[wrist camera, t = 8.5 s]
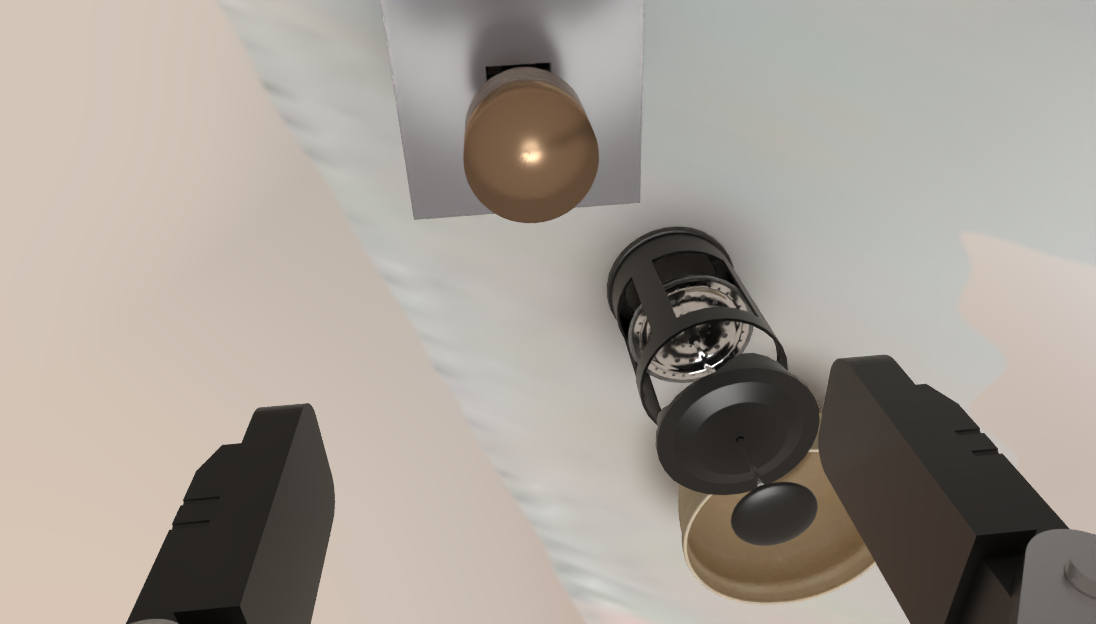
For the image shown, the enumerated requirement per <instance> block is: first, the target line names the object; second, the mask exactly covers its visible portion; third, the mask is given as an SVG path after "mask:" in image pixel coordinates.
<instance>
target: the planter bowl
mask: <svg viewBox="0 0 1096 624" xmlns="http://www.w3.org/2000/svg"><path fill="white" fill-rule="evenodd" d="M821 418H822V413H821V412H819V420H820V422H819V428H818V433H817V436H816V438H815V441H814V443H813V445H812V447H811V449H810V450H809V451H808V453H807V454H806V456H805V457H804V458H803V459H802V461H801V462H800V463H799V464H798V465H797V466H796V467H795V468H794V469H792V470H791V471H790V472H788V473H787V474H786V475H784V476H783V477H782V478H780V479H778V480H776V481H774V482H793V483H797V484H800V485H803V486H805V487H807V488H808V489H809V490H811V491H812V492H813V494H814V495H815V497H816V499H817V503H818V510H817V515H816V517H815V519H814V521H813V523H812V524H811V525H810V527H809V528H808V529H807V530H806V531H804V532H803V533H802V534H800V535H799V536H798V537H796V538H794V539H792V540H790V541H787V542H785V543H781V544H777V545H771V546H757V545H752V544H749V543H747V542H744V541H743V540H741V539H740V538H739V537H738V536H737V535H736V534H735V533H734V531H733V529H732V527H731V515H732V513H733V510H734V508H735V506H736V505H737V503H738V502H739V501H740V500H741V499H742V498H743V497H744V496H745V495H746V494H748V493H749V492H751V491H749V492H745V493H741V494H732V495H709V494H705V493H700V492H696V491H693V490H691V489H688V488H686V487H683V486H682V485H680V488H679V500H678V502H679V520H680V526H681V531H682V547H683V552H684V556H685V560H686V563H687V565H688V567H689V569H690V571H691V572H692V574H693V575H694V577H695V578H696V579H697V580H698V581H699V582H700V583H701V584H702V585H703V586H704V587H706V588H707V589H708V590H710V591H712V592H713V593H715V594H717V595H719V596H722V597H724V598H727V599H730V600H734V601H738V602H742V603H748V604H761V605H771V604H785V603H793V602H798V601H804V600H808V599H812V598H815V597H819V596H822V595H825V594H827V593H830V592H832V591H835V590H837V589H839V588H841V587H843V586H845V585H847V584H848V583H850V582H852V581H853V580H855V579H857V578H858V577H860V576H861V575H863V574H864V573H865V572H867V571H868V570H869V569H870V568H872V567H873V566H874V565H875V564H876V562H875V560H874V559H873V557H872V555H871V553H870V552H869V550H868V548H867V546H866V545H865V543H864V541H863V539H862V538H861V536H860V534H859V532H858V531H857V529H856V527H855V525H854V524H853V522H852V520H851V518H850V517H849V515H848V513H847V511H846V510H845V508H844V506H843V504H842V503H841V501H840V499H839V497H838V496H837V494H836V492H835V490H834V489H833V487H832V485H831V483H830V482H829V480H828V478H827V476H826V474H825V472H824V470H823V467H822V464H821V460H820V456H819V449H818V435H819V429H820V424H821ZM774 482H773V483H774Z"/></svg>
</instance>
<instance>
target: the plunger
mask: <svg viewBox="0 0 1096 624" xmlns="http://www.w3.org/2000/svg"><path fill="white" fill-rule="evenodd" d="M547 70H549V62H548V63H534V64H519V65H504V66H489V67H486V74H497V75H495V76H494V77H492V78H490V79H489V80H488V81H487V82H485V83H484V84H483V85H482V86H481V87H480V88H479V90H478V91H477V92H476V94H475V95H474V97H473V99H472V101H471V102H470V105H469V107H468V110H467V114H466V120H465V134H464V154H463V161H464V170H465V175H466V178H467V181H468V184H469V186H470V188H471V190H472V191H473V193H474V194H475V196H476V197H477V198H478V200H479V201H480V202H481V203H482V204H483V205H484V206H485V207H487V208H488V209H489V210H490V211H492V212H493V213H495V214H497V215H499V216H501V217H503V218H506V219H508V220H511V221H516V222H522V223H538V222H545V221H549V220H552V219H555V218H557V217H560V216H562V215H564V214H565V213H567V212H569V211H570V210H572V209H573V208H574V207H575V206H576V205H578V204H579V203H580V202H581V201H582V200H583V198H584V197H585V196H586V195H587V193H588V192H589V190H590V189H591V187H592V184H593V182H594V180H595V177H596V174H597V170H598V165H599V148H598V143H597V139H596V136H595V133H594V131H593V128H592V126H591V124H590V121H589V119H588V117H587V114H586V112H585V110H584V107H583V105H582V103H581V101H580V99H579V97H578V95H577V94H576V92H575V91H574V90H573V88H572V87H571V86H570V85H569V84H568V83H567V82H566V81H564V80H563V79H562V78H560V77H559V76H557V75H555V74H554V73H551V72H549V71H547Z"/></svg>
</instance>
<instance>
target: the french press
mask: <svg viewBox="0 0 1096 624" xmlns="http://www.w3.org/2000/svg"><path fill="white" fill-rule="evenodd" d="M681 253H696V254H703V255H705V256H706V257H707V258H708V259H709V260H710V261H711V262H712V264H713V266H714V268H715V270H716V276H717V277H714V276H710V275H700V274H696V275H685V276H681V277H676V278H673V279H670V280H668V281H665V282H663V283H662V282H661V280H660V278H659V276H658V273H657V271H656V269H655V266H654V264H653V262H655V261H657V260H659V259H661V258H663V257H667V256H670V255H674V254H681ZM632 279H633V282H634V285H635V287H636V290H637V293H638V296H639V298H640V301H641V302H640V303H639V305H638V306H637V308H636V310H635V312H634V314H633V313H632V312H631V310H630V309H629V307H628V305H627V302H626V298H625V290H626V288H627V286H628V285H629V283H630V282H631V281H632ZM607 298H608V302H609V306H610V309H611V311H612V313H613V315H614V317H615V319H616V320H617V322H618V326H619V329H620V331H621V333H622V335H623V337H624V339H625V342H626V345H627V349H628V352H629V355H630V358H631V362H632V365H633V368H634V371H635V375H636V383H637V387H638V391H639V395H640V398H641V401H642V405H643V407H644V409H645V411H646V412H647V414H648V416H649V417H650V418H651V419H652V420H653V421H654V423H655V424H657V425H658V429H657V432H656V449H657V453H658V457H659V460H660V462H661V464H662V466H663V468H664V470H665V471H666V472H667V473H668V475H669V476H670V477H671V478H672V479H673V480H674V481H676V482H677V483H679V484H680V485H682V486H683V487H686V488H688V489H691V490H693V491H696V492H700V493H705V494H709V495H732V494H741V493H745V492H749V491H751V492H749V493H748V494H746V495H745V496H744V497H743V498H742V499H741V500H740V501H739V502H738V503H737V505H736V506H735V508H734V510H733V513H732V515H731V527H732V529H733V531H734V533H735V534H736V535H737V536H738V537H739V538H740V539H741V540H743V541H744V542H747V543H749V544H752V545H757V546H771V545H777V544H781V543H785V542H787V541H790V540H792V539H794V538H796V537H798V536H799V535H800V534H802V533H803V532H804V531H806V530H807V529H808V528H809V527H810V525H811V524H812V523H813V521H814V519H815V517H816V515H817V510H818V503H817V499H816V497H815V495H814V494H813V492H812V491H811V490H809V489H808V488H807V487H805V486H803V485H800V484H797V483H793V482H774V481H776V480H778V479H780V478H782V477H783V476H784V475H786V474H787V473H788V472H790V471H791V470H792V469H794V468H795V467H796V466H797V465H798V464H799V463H800V462H801V461H802V459H803V458H804V457H805V456H806V454H807V453H808V451H809V450H810V449H811V447H812V445H813V443H814V441H815V438H816V436H817V433H818V428H819V422H820V420H819V409H818V406H817V403H816V400H815V398H814V396H813V394H812V393H811V392H810V390H809V389H808V387H807V386H806V385H805V384H804V383H803V382H802V381H801V380H799V379H798V378H797V377H796V376H794V375H792V374H790V373H788V367H787V357H786V355H785V352H784V349H783V347H782V345H781V344H780V342H779V340H778V339H777V337H776V336H775V334H774V332H773V331H772V329H771V328H770V326H769V325H768V323H767V321H766V320H765V318H764V317H763V315H762V313H761V312H760V310H759V309H758V307H757V305H756V304H755V302H754V301H753V299H752V298H751V296H750V294H749V293H748V291H747V290H746V288H745V286H744V285H743V283H742V282H741V280H740V278H739V277H738V275H737V274H736V272H735V271H734V269H733V265H732V262H731V260H730V257H729V255H728V254H727V252H726V251H725V249H724V248H723V246H722V245H721V244H720V243H719V242H718V241H716V240H715V239H714V238H713V237H711V236H709V235H707V234H706V233H704V232H701V231H698V230H695V229H691V228H682V227H674V228H664V229H661V230H657V231H653V232H651V233H649V234H647V235H644V236H642V237H640V238H639V239H637V240H636V241H635V242H633V243H632V244H630V245H629V246H628V247H627V248H626V249H625V250H624V251H623V252H622V253H621V254H620V256H619V257H618V259H617V260H616V262H615V263H614V265H613V267H612V270H611V272H610V274H609V279H608V283H607ZM753 314H754V315H753ZM753 326H755V327H756V328H758V329H760V330H762V331H764V332H765V333H767V334H768V335H769V336H770V337H771V338H772V339H773V340H774V342H775V345H776V350H777V362H776V361H774V360H772V359H770V358H768V357H766V356H763V355H759V354H755V353H746V354H742V353H743V351H744V350H745V348H746V346H747V345H748V343H749V341H750V338H751V335H752V332H753ZM649 374H650V375H652V376H654V377H656V378H658V379H660V380H664V381H668V382H677V383H686V382H694V383H692V384H691V385H689V386H688V387H686V388H685V389H684V390H683V391H682V392H681V393H679V394H678V395H677V396H676V397H675V398H674V400H673V401H672V402H671V403H670V404H669V405H668V406H666V407H665V408H663V409H662V410H661V409H660V406H659V403H658V400H657V397H656V394H655V391H654V388H653V385H652V382H651V379H650V376H649ZM695 381H696V382H695ZM773 482H774V483H773Z"/></svg>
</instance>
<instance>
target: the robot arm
mask: <svg viewBox="0 0 1096 624" xmlns="http://www.w3.org/2000/svg"><path fill="white" fill-rule="evenodd" d="M818 449H819V456H820V460H821V464H822V467H823V470H824V472H825V474H826V476H827V478H828V480H829V482H830V483H831V485H832V487H833V489H834V490H835V492H836V494H837V496H838V497H839V499H840V501H841V503H842V504H843V506H844V508H845V510H846V511H847V513H848V515H849V517H850V518H851V520H852V522H853V524H854V525H855V527H856V529H857V531H858V532H859V534H860V536H861V538H862V539H863V541H864V543H865V545H866V546H867V548H868V550H869V552H870V553H871V555H872V557H873V559H874V560H875V562H876V564H877V566H878V567H879V569H880V571H881V573H882V574H883V576H884V578H885V580H886V581H887V583H888V585H889V587H890V588H891V590H892V592H893V594H894V595H895V597H896V599H897V601H898V602H899V604H900V606H901V608H902V610H903V611H904V613H905V615H906V617H907V618H908V620H909V622H910V624H1096V535H1095V534H1091V533H1087V532H1084V531H1078V530H1072V529H1069V528H1068V527H1067V526H1066V525H1065V523H1064V522H1063V521H1062V520H1061V519H1060V518H1059V517H1058V515H1057V514H1056V513H1055V512H1054V511H1053V510H1052V509H1051V508H1050V506H1049V505H1048V504H1047V503H1046V502H1045V501H1044V500H1043V499H1042V497H1040V495H1039V494H1038V493H1037V492H1036V491H1035V490H1034V489H1033V488H1032V486H1031V485H1030V484H1029V483H1028V482H1027V481H1026V480H1025V478H1024V477H1023V476H1022V475H1021V474H1020V473H1019V472H1018V471H1017V469H1016V468H1015V467H1014V466H1013V465H1012V464H1011V463H1010V462H1009V460H1008V459H1007V458H1006V457H1005V456H1004V455H1003V454H999V453H998V448H997V447H996V446H995V445H994V444H993V442H992V441H991V440H990V439H989V438H988V437H987V436H986V435H985V433H980V428H979V427H978V426H977V425H976V423H975V422H974V421H973V420H972V419H971V418H970V417H969V416H968V414H967V413H966V412H965V411H964V410H963V409H962V408H961V407H960V405H959V404H958V403H956V402H954V401H953V400H951V399H950V398H948V397H946V396H945V395H943V394H941V393H940V392H938V391H937V390H935V389H933V388H932V387H930V386H929V385H927V384H920V385H915V384H914V383H913V381H912V380H911V379H910V378H909V377H908V375H907V374H906V373H905V372H904V371H903V369H902V368H901V367H900V366H899V365H898V364H897V362H896V361H895V360H894V359H893V358H892V357H890V356H888V355H875V356H864V357H852V358H841V359H837V360H836V361H835V362H834V363H833V365H832V367H831V371H830V376H829V381H828V386H827V392H826V397H825V402H824V408H823V413H822V418H821V424H820V429H819V435H818ZM183 501H184V504H183V505H181V506H180V508H179V510H178V512H177V515H176V516H175V519H174V521H173V523H172V525H173V528H172V530H169V532H168V534H167V536H166V538H165V540H164V543H163V545H162V547H161V549H160V551H159V554H158V556H157V558H156V560H155V562H154V564H153V566H152V569H151V571H150V573H149V575H148V578H147V579H146V582H145V584H144V587H143V588H142V590H141V592H140V595H139V597H138V599H137V601H136V603H135V606H134V608H133V610H132V612H131V614H130V616H129V618H128V621H127V622H126V624H311V619H312V614H313V610H314V605H315V601H316V596H317V592H318V587H319V583H320V578H321V574H322V568H323V564H324V560H325V555H326V550H327V546H328V541H329V537H330V532H331V527H332V523H333V517H334V508H335V494H334V484H333V479H332V474H331V470H330V467H329V463H328V459H327V455H326V452H325V448H324V444H323V441H322V437H321V433H320V429H319V426H318V422H317V419H316V415H315V412H314V409H313V407H312V406H311V405H310V404H309V403H307V404H295V405H284V406H272V407H261V408H258V409H256V411H255V412H254V414H253V416H252V419H251V421H250V423H249V426H248V428H247V431H246V433H245V436H244V438H243V441H242V443H239V444H229V445H222V446H221V447H220V448H219V449H218V450H217V451H216V452H215V453H214V454H213V455H212V456H211V457H210V458H209V459H208V460H207V461H206V462H205V463H204V464H203V465H202V466H201V467H200V468H199V469H198V470H197V471H196V473H195V475H194V477H193V480H192V482H191V484H190V486H189V488H188V490H187V493H186V495H185V497H184V499H183Z"/></svg>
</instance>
